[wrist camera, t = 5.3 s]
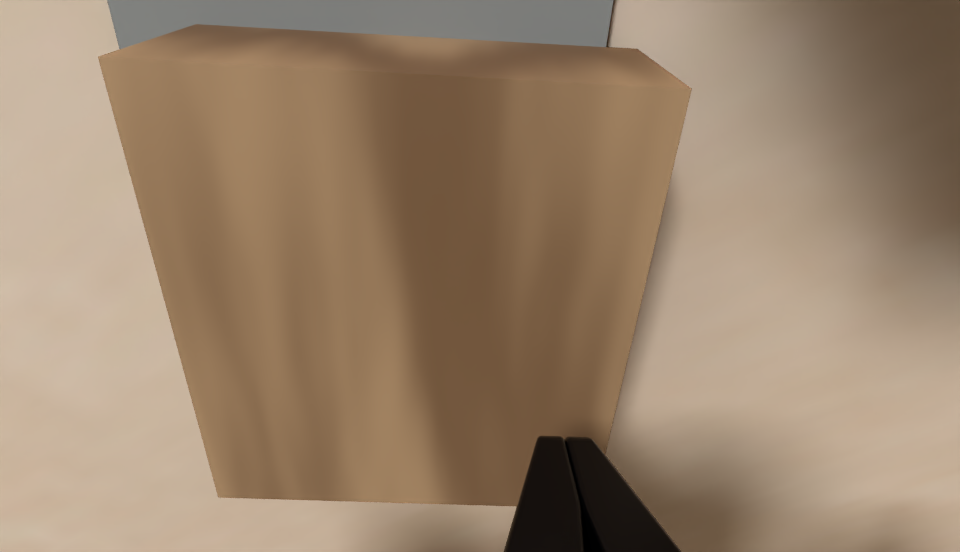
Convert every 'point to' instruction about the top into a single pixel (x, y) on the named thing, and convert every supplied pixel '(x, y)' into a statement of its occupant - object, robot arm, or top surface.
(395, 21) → the grey rubber mat
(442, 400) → the walnut slab
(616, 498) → the robot arm
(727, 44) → the top surface
